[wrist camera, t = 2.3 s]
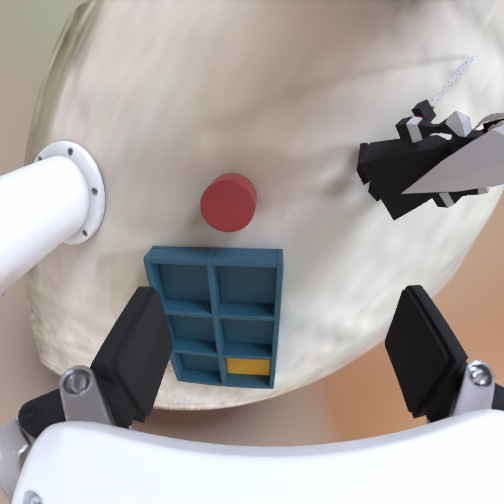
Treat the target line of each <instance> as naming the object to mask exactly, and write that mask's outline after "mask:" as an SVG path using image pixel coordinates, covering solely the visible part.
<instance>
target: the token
mask: <svg viewBox="0 0 504 504" xmlns="http://www.w3.org/2000/svg"><path fill="white" fill-rule="evenodd" d="M256 198H257V197H256V191H255V188H254V186H253V185H252V183H251V182H250V181H249V180H248V179H247V178H245V177H243V176H241V175H238V174H225V175H222V176H220V177H218V178H217V179H215V180H214V181H213V182H212V184H211V185H210V186H209V187H208V188H207V189H206V190H205V192H204V193H203V196H202V199H201V212H202V215H203V217H204V219H205V220H206V221H207V223H208V224H209V225H211V226H212V227H213V228H215V229H217V230H220V231H223V232H234V231H238V230H240V229H242V228H244V227H245V226H246V225H248V223H249V222H250V221H251V219H252V217H253V215H254V211H255V205H256Z"/></svg>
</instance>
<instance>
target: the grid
mask: <svg viewBox="0 0 504 504" xmlns="http://www.w3.org/2000/svg"><path fill="white" fill-rule="evenodd" d="M143 259H144V264H145V268H146V273H147V277H148V281H149V286H150V287H154V289H155V291H158V292H159V294H160V297H161V301H162V304H163V308H164V312H165V315H166V319H167V322H168V326H169V329H170V332H171V336H172V339H173V350H172V352H171V355H170V359H171V363H172V365H173V368H174V371H175V374H176V377H177V380H178V381H183V382H190V383H198V384H207V385H217V386H228V387H243V388H264V389H273V388H274V378H275V367H276V356H277V345H278V333H279V320H280V307H281V292H282V277H283V251H282V249H246V248H204V247H160V246H153V247H152V248H151V249H150V251H149V252H148V253H147V254H146V256H145V257H144V258H143Z"/></svg>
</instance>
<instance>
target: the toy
mask: <svg viewBox="0 0 504 504" xmlns="http://www.w3.org/2000/svg"><path fill="white" fill-rule="evenodd" d="M476 57H477V56H476ZM476 57H473V58H471V59H470V60H469V61H468V62H467V63H466V64H465V65H464V66H463V67H462V68H461V69H460V70H459V71H458V72H457V74H456V75H455V76H454V77H453V78H452V79H451V80H450V81H449V83H448V84H447V85H446V86H445V87H444V88H443V89H442V90H441V91H440V93H439V94H438V95H437V96H436V97H435V98H434V99H433V100H432V101H431V103H429V102H428V100H424V101H422V102H420V103H418V104H417V105H416V106H415V107H414V108H413V109H412V112H413V114H414V115H415V116H412V117H408V118H404V119H402V120H401V121H400V122H398V123H397V124H396V125H395V126H396V128H397V131H398V133H399V136H400V138H401V139H394V140H386V141H380V142H373V143H370V145H369V144H367V143H361V144H360V151H359V158H358V165H357V172H358V174H359V176H360V178H361V181H362V183H363V185H365V184H366V183H368V182H369V181H370V185H369V190H368V192H369V193H370V194H371V195H372V197H373V198H374V199H375V200H376V201H379V200H380V199H381V200H382V202H383V203H384V205H385V206H386V208H387V210H388V211H389V213H390V215H391V217H392V218H393V220H396V219H397V218H399V217H401V216H403V215H404V214H406V213H408V212H410V211H412V210H413V209H415V208H417V207H418V206H420V205H422V204H423V203H425V202H427V201H428V200H430V199H431V198H433V200H434V201H435V203H436V205H437V206H438V207H446V208H448V207H450V206H452V205H453V204H455V203H456V202H457V201H458V200H459V199H460V198H461V197H462V196H467V195H479V194H484V193H488V192H489V189H490V187H491V186H492V187H493V186H497V185H502V184H504V118H503V117H504V113H496V114H491V115H489V116H487V117H485V118H483V119H482V120H481V121H480V122H479V124H478V125H477V126H476V127H475V128H474V129H473V130H472V128H471V123H470V119H469V117H467V116H465V115H464V114H462V113H460V112H458V111H455V112H454V113H453V114H452V115H451V116H449V117H448V118H447V119H446V120H444V121H443V122H441V123H440V124H432V123H430V122H431V121H432V120H433V119H434V117H435V116H436V114H435V112H434V106H433V105H434V104H435V103H436V102H437V101H438V100H439V98H440V97H441V96H442V95H443V94H444V93H445V92H446V90H447V89H448V88H449V87H450V86H451V85H452V83H453V82H454V81H455V80H456V79H457V78H458V76H459V75H460V74H461V73H462V72H463V71H464V69H465V68H466V67H467V66H468V65H469V64H470V63H471V62H472V61H473V60H474V59H475V58H476ZM499 118H503V119H499ZM498 119H499V120H498ZM488 120H489V122H488V123H484V124H483V126H484V129H482V130H475V129H476V128H477V127H478V126H479V125H481V124H482V123H483V122H486V121H488ZM440 132H441V133H445V134H451V135H452V138H451V139H450V140H447V139H445V138H443V137H440V136H438V135H433V136H429V135H431V134H432V133H440Z"/></svg>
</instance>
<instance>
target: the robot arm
mask: <svg viewBox="0 0 504 504" xmlns="http://www.w3.org/2000/svg"><path fill="white" fill-rule="evenodd" d="M104 210H105V191H104V185H103V181H102V177H101V174H100V172H99V169H98V167H97V165H96V163H95V162H94V160H93V158H92V157H91V156H90V155H89V153H88V152H87V151H86V150H85V149H84V148H82V147H81V146H80V145H78V144H76V143H73V142H70V141H60V142H55V143H52V144H49V145H48V146H46V147H45V148H43V150H42V151H41V152H40V153H39V154H38V156H37V157H36V159H35V161H34V163H32V164H30V165H27V166H24V167H22V168H19V169H17V170H14V171H12V172H9V173H7V174H4V175H2V176H0V297H1V296H2V295H3V294H4V293H5V292H6V291H7V290H8V289H9V288H10V287H11V286H13V284H15V283H16V282H17V281H18V280H19V279H20V278H21V277H22V276H23V275H24V274H26V273H27V272H28V271H29V270H30V269H31V268H32V267H33V266H35V265H36V264H37V263H38V262H39V261H40V260H42V259H43V258H44V257H45V256H46V255H48V254H49V253H50V252H51V251H53V250H54V249H55V248H56V247H58V246H59V245H60V244H61V243H64V244H69V245H76V244H80V243H83V242H85V241H86V240H87V239H89V238H90V237H91V236H92V235H93V234H94V233H95V232H96V231H97V229H98V228H99V226H100V224H101V221H102V219H103V215H104ZM385 347H386V350H387V352H388V355H389V357H390V360H391V363H392V365H393V368H394V371H395V373H396V376H397V379H398V382H399V385H400V388H401V391H402V393H403V396H404V399H405V402H406V406H407V408H408V411H409V412H412V415H413V418H417V417H421V416H424V415H426V417H427V421H426V423H425V425H423V426H419V427H415V428H412V429H407V430H403V431H399V432H396V433H391V434H386V435H381V436H376V437H371V438H366V439H360V440H353V441H346V442H338V443H330V444H319V445H305V446H279V447H263V446H236V445H221V444H211V443H202V442H195V441H188V440H181V439H175V438H169V437H164V436H158V435H153V434H148V433H143V432H139V431H134V430H132V428H131V426H130V425H131V424H132V421H133V420H135V421H139V422H144V421H145V418H146V416H149V415H150V414H151V411H152V408H153V405H154V402H155V399H156V396H157V393H158V390H159V387H160V384H161V381H162V378H163V375H164V372H165V369H166V367H167V364H168V361H169V358H170V355H171V352H172V350H173V339H172V336H171V332H170V329H169V326H168V322H167V319H166V315H165V312H164V308H163V304H162V301H161V297H160V294H159V292H158V291H155V289H154V287H142V286H140V287H138V288H137V290H136V291H135V293H134V294H133V296H132V298H131V299H130V301H129V302H128V304H127V305H126V307H125V308H124V310H123V312H122V313H121V315H120V316H119V318H118V320H117V321H116V323H115V324H114V326H113V328H112V329H111V331H110V333H109V334H108V336H107V338H106V339H105V341H104V343H103V344H102V346H101V348H100V350H99V351H98V353H97V355H96V357H95V358H94V360H93V362H92V364H91V366H90V368H89V367H86V366H74V367H72V368H70V369H68V370H67V371H66V372H65V373H64V374H63V375H62V377H61V379H60V385H59V389H56V390H54V391H52V392H49V393H47V394H45V395H42V396H40V397H38V398H35V399H33V400H30V401H28V402H27V403H25V404H24V405H23V406H22V407H21V409H20V411H19V415H18V421H17V420H16V419H14V420H12V421H11V422H10V423H8V424H7V425H6V426H5V427H3V428H2V429H1V430H0V485H1V487H2V489H3V490H4V492H5V494H6V496H7V498H8V500H9V501H10V503H11V504H504V387H502V386H500V385H498V384H496V383H495V375H494V372H493V370H492V368H491V367H490V366H489V365H488V364H487V363H485V362H483V361H479V360H474V361H472V362H470V363H469V364H467V362H466V360H467V358H468V356H467V355H466V353H465V351H464V350H463V348H462V346H461V345H460V343H459V341H458V340H457V338H456V336H455V335H454V333H453V331H452V330H451V328H450V327H449V325H448V324H447V322H446V321H445V319H444V318H443V316H442V314H441V313H440V311H439V310H438V309H437V307H436V306H435V304H434V303H433V301H432V300H431V298H430V297H429V296H428V294H427V293H426V291H425V290H424V289H423V287H422V286H421V285H412V286H407V287H406V288H405V290H403V291H402V293H401V296H400V299H399V302H398V305H397V308H396V311H395V314H394V317H393V320H392V323H391V325H390V328H389V331H388V333H387V336H386V339H385Z"/></svg>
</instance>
